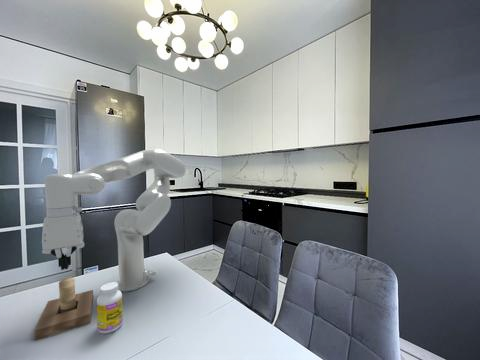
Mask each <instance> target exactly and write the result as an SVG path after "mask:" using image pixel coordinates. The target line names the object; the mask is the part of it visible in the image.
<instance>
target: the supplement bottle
mask: <svg viewBox="0 0 480 360" xmlns="http://www.w3.org/2000/svg"><path fill="white" fill-rule="evenodd" d="M116 282H117V281H116ZM116 282H115V281H111V282H107V283H105V284H103V285H101V287H100V288H99V292H100V295H99V296H98V297H97V299H96V311H97V312H96V313H97V316H96V317H97V331H98V333H101V334H110V333H113V332H114V331H116V330H118V329H119V328H120V327H121V326H122V325H123V322H124V320H123V319H124V315H123V313H124V311H123V293H122V291H119V290H118V283H116Z"/></svg>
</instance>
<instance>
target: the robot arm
mask: <svg viewBox="0 0 480 360" xmlns="http://www.w3.org/2000/svg"><path fill="white" fill-rule="evenodd" d="M149 170H153V171H154V172H153V174H154V180H153V182H152V183H151V184H150V186H149V187H147V189H145V191H144V192H142V193H141V194H140V196H138V198H137V199H136V201H135V207H136V209H134V208H133V209H131V208H129V209H128V208H125V209H122V210H121V211H119V212H118V213H117V214H116V216H115V218H114V224H113V225H114V230H115V233H116V239H117V257H118V258H117V259H118V279H117V281H116V283H118V290H119V291H121V293H122V292H124V293H125V292H132V291H136V290H139V289H140V288H143V287H144V286H145V285H147V284H148V282H149V281H150V280H149V277H152V276H157V270H156V269H155V270H153V269H148V270H146V269H145V255H144V254H145V253H144V251H145V250H144V245H145V244H144V239H143V238H144V237H143V236H147V235H149V234H150V233H152V232H153V231H154V230H155V229H156V227H157V226H158V225H159V224H160V223H161V221H162V220H163V219H164V218H165V217H166V215H168V213H169V211H170V209H171V205H172V200H171V198H170V196H169V192H170V190H171V182H170V179H177V178H182V177H183V176H184V175H185V174H186V170H187V168H186V165H185V163H184V161H182V160H181V159H179V158H177V157H176V156H174V155H172V154H171V153H168V152H167V151H165V150H164V149H163V150H162V149H158V148H155V149H154V148H153V149H144V150H141V151H138V152H134V153H131V154H130V155H127V156H124V157H123V156H122V157H120V158H118V159H114V160H110V161H108V162H105V163H101V164H99V165H95V166H91V167H88V168H85V169H82V170H79V171H77V172H74V173H72V174H70V173H54V174H53V173H51V174H48V175H46V176H45V178H44V188H45V189H44V190H45V206H46V217H44V219H43V223H42V233H41V235H42V236H41V245H42V246H41V247H42V250H41V253H42V254H43V255H44V254H45V255H46V254H47V255H48V254H49V255H52V256H54V257H56V259H58V268H60V270H61V271H63V270H68V269H69V267H70V266H71V264H72V254H73V253H75V251H77V250H79V249H82V248H85V242H84V238H85V237H84V226H83V220H82V216H81V214H79V212H83V207H81V206H78V205H77V195H87V196H90V195H91V196H92V195H97V194H99V193H101V192H102V191H103V190H104V188H105V186H106V184H107V183H110V182H118V181H124V180H128V179H130V178H133V177H134V176H137V175H139V174H141V173H144V172H146V171H149ZM65 248H66V252H65V254H64V253H63V252H64V251H63V249H65Z"/></svg>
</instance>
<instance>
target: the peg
mask: <svg viewBox="0 0 480 360" xmlns="http://www.w3.org/2000/svg"><path fill="white" fill-rule="evenodd" d="M75 280H76V279H75V278H74V277H68V278H67V277H66V278H63V279H61V280H60V281H59V282H58V290H59V298H60V311H61V313H64V312H67V311H71V310H75V309H76V297H75V294H76V284H75V283H76V282H75Z"/></svg>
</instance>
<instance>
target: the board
mask: <svg viewBox="0 0 480 360" xmlns="http://www.w3.org/2000/svg"><path fill="white" fill-rule="evenodd" d="M94 296H95V295H94V289H92V290H87V291H83V292H80V293H79V292H78V293H75V297H76V309H75V310H71V311H67V312H64V313H61V311H60V297H59V298H55V299H52V300H51V299H50V300H48V301H47V303H46V304H45V307H44V309H43V311H42V313H41V315H40V318H39V320H38V322H37V324H36V326H35V328H34V332H33V333H34V341H38V340H41V339H45V338H48V337H52V336H54V335H58V334H61V333H64V332H67V331H70V330H74V329H76V328H80V327H84V326H86V325H90V324H91V322H92V314H93V307H94V306H93V305H94Z"/></svg>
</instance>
